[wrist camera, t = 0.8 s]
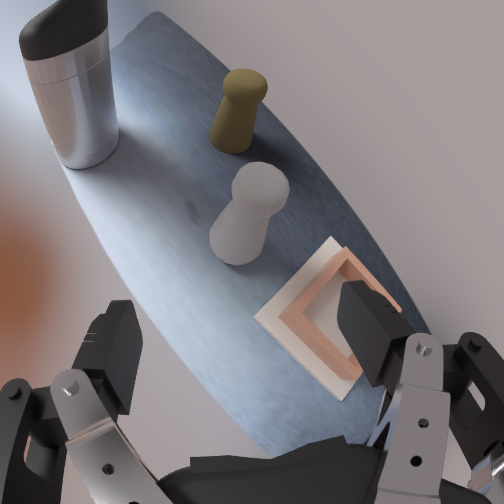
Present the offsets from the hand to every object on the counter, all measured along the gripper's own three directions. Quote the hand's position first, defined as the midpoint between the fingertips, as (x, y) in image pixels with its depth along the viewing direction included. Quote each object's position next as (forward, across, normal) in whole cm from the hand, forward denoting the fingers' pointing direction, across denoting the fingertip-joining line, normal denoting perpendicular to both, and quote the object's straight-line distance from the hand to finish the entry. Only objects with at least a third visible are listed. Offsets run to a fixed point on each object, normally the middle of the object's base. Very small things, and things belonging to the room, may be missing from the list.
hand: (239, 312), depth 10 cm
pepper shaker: (+32, -2, -5) cm, 33 cm away
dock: (+16, -12, +14) cm, 24 cm away
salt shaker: (+21, -1, +7) cm, 22 cm away
